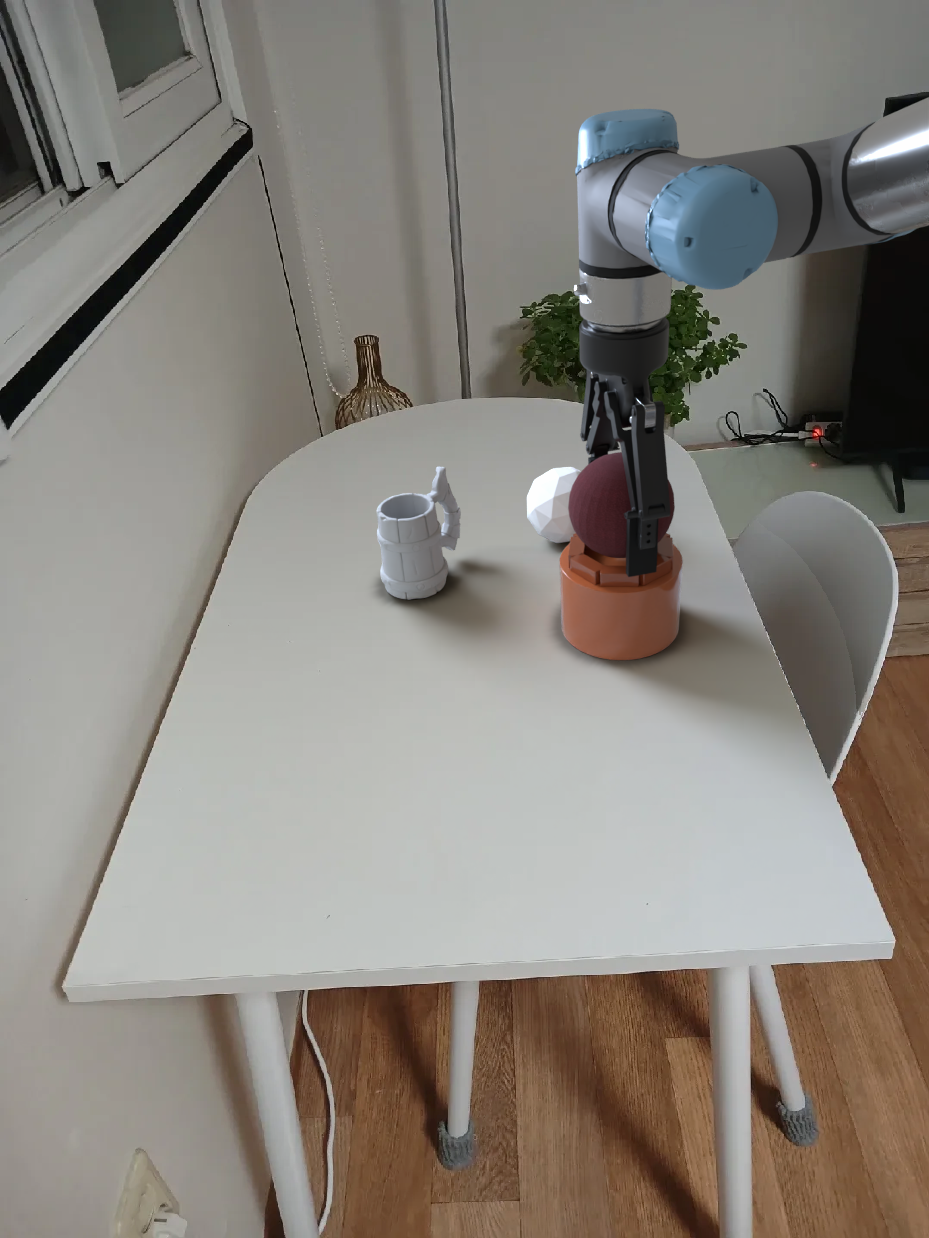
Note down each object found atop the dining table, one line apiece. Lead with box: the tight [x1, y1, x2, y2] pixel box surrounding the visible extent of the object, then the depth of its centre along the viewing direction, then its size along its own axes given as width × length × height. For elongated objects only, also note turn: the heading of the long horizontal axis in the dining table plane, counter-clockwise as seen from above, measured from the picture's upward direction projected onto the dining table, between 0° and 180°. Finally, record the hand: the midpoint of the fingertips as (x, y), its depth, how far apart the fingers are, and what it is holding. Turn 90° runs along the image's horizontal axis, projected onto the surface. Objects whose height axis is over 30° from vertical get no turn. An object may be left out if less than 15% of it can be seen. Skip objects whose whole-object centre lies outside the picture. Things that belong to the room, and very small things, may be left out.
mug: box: [376, 465, 462, 600], centre depth 106 cm, size 8×12×12 cm, turn 140°
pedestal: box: [559, 532, 684, 661], centre depth 96 cm, size 12×12×10 cm
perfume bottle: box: [526, 466, 582, 544], centre depth 113 cm, size 9×9×12 cm
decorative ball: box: [568, 451, 676, 558], centre depth 91 cm, size 10×10×10 cm
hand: (620, 542), depth 93 cm, fingers open, 11 cm apart
